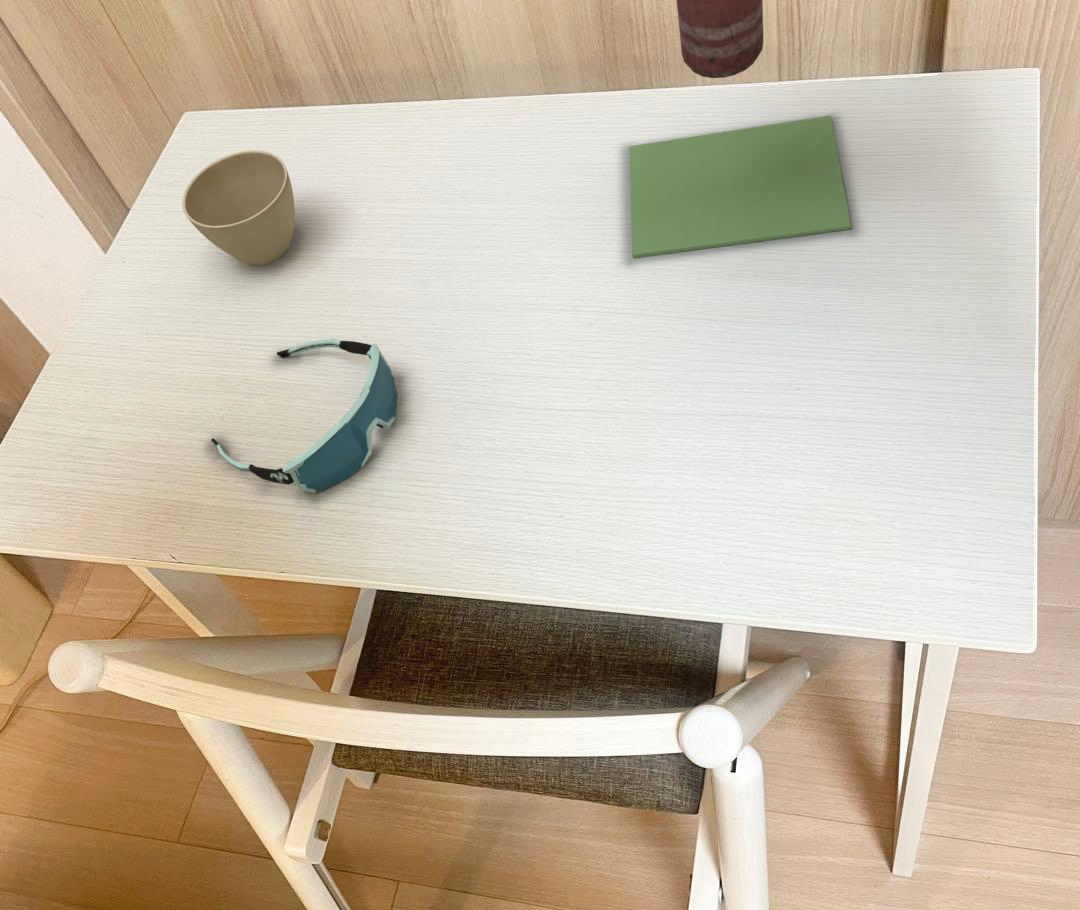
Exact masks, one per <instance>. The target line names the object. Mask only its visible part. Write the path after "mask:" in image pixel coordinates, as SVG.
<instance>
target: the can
mask: <svg viewBox="0 0 1080 910" xmlns="http://www.w3.org/2000/svg"><path fill="white" fill-rule="evenodd" d="M763 6H764V2H763V0H676V8H677V9H676V10H677V17H678V19H677V21H678V28H679V39H680V49H681V57H682V60H683V63H684V64H686V66H687V67H688V68H689V69H690V70H691V71H692V72H693V73H694V74H696V75H698V76H701V77H704V78H710V79H722V78H723V79H724V78H729V77H733V76H736V75H738V74H741V73H742V72H745V71H746V70H747V69H749V68H750V67H751V66H753V65H754V64H755V62H756V60H757V59H758V58H759V56H760V55H761V53H762V52H763V47H764V7H763Z"/></svg>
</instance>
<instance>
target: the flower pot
mask: <svg viewBox="0 0 1080 910" xmlns="http://www.w3.org/2000/svg"><path fill="white" fill-rule="evenodd" d="M181 204H182V210H183V211H182V212H183V213H184V215H185V217H186V218H187V219H188V220H189V222H190V223H191V224H192V226H194V228H195V229H196V230H197V231H198V232H199V233H200V234H201V235H202V236H203V237H205V238H206V239H207V240H208V241H209V242H210V243H211V244H213V245H215V247H217V248H218V249H220V250H221V251H223V252H224V253H226V254H228V255H229V256H232V258H235V259H237V260H239V261H241V262H244V263H247V264H250V265H251V266H252V265H254V266H263V265H264V266H265V265H267V264H271V263H274V262H275V261H277V260H279V259H280V258H281V257H283V256H284V255H285V254H286V253H287V251H288V250H289V249H290V248H291V245H292V242H293V236H294V229H295V217H296V216H295V215H296V214H295V213H296V212H295V211H296V210H295V197H294V190H293V187H292V181H291V177H290V175H289V171H288V169H287V166H286V164H285V163H284V161H283V160H282V159H281V158H280V157H279V156H277V155H276V154H274V153H271V152H268V151H264V150H255V149H254V150H243V151H237V152H234V153H231V154H228V155H225V156H223V157H220V158H219V159H217V160H215V161H213V162H211V163H209V164H208V165H206V166H205V167H204V168H202V169H201V170H200V171H199V172H198V173H197V174H196V175H195V176H194V177H193V178H192V179H191V181H190V182H189V183H188V184H187V187H186V188H185V190H184V193H183V197H182V201H181Z"/></svg>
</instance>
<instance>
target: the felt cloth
mask: <svg viewBox="0 0 1080 910" xmlns="http://www.w3.org/2000/svg"><path fill="white" fill-rule="evenodd" d="M629 172H630V173H629V175H630V177H629V178H630V179H629V180H630V211H631V247H632V248H631V249H632V258H633V259H635V258H636V259H637V258H645V257H651V256H658V255H666V254H674V253H681V252H688V251H697V250H704V249H712V248H719V247H727V246H734V245H740V244H748V243H757V242H764V241H771V240H779V239H786V238H794V237H802V236H803V237H804V236H809V235H817V234H824V233H833V232H839V231H847V230H852V223H851V216H850V211H849V206H848V200H847V196H846V190H845V185H844V179H843V173H842V167H841V162H840V156H839V151H838V145H837V140H836V135H835V130H834V124H833V118H832V115H825V116H819V117H812V118H807V119H806V118H805V119H798V120H795V121H794V120H793V121H787V122H779V123H774V124H767V125H761V126H760V125H759V126H753V127H747V128H740V129H734V130H728V131H720V132H715V133H708V134H702V135H701V134H700V135H695V136H688V137H683V138H681V137H680V138H674V139H668V140H662V141H654V142H650V143H649V142H648V143H643V144H637V145H630V146H629Z"/></svg>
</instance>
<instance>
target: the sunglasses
mask: <svg viewBox="0 0 1080 910" xmlns="http://www.w3.org/2000/svg"><path fill="white" fill-rule="evenodd" d="M378 347H379V346H377V344H376V343H375V342H374V343H372V344H369V343H364V342H359V341H354V340H341V339H337V338H329V339H328V338H327V339H321V340H320V339H319V340H314V341H313V340H312V341H309V342H305V343H301V344H298V345H295V346H293V347H291V348H288V349H285V350H280V351H277V352H276V355H277V356H278V357H280V358H281V359H284V358H288V357H292V356H295V355H299V354H301V353H304V352H308V351H311V350H318V349H324V348H334V349H339V350H342V351H345V352H348V353H351V354H355V355H356V354H357V355H362V356H367V357H368V358H369V360H370V366H369V371H368V375H367V377H366V380H365V382H364V385H363V387H362V390H361V392H360V394H359V395H358V397H357V398H356V400H355V401H354V402H353V404H352V406H351V407H350V408H349V410H348V412H346V414H345V415H344V416H343V417H342V418H341V419H339V421H338V422H337V423H336V424H335V425H334V426H333V427H332V428H331V429H330V430H328V432H326V433H325V434H324V435H323V436H321V438H320V439H318V440H317V441H316V442H315V443H314V444H313V445H311V446H310V447H309V448H307V449H306V450H305V451H303V452H302V453H300V454H299V455H297V456H296V457H294V458H292V459H291V460H289V462H288V463H287V464H286V465H285V467H284V468H282V467H280V468H277V469H274V468H267V467H259V466H256V465H254V464H252V463H251V464H248V463H245V464H243V463H240V462H238V461H236V460H234V459H232V458H231V457H230V456H228V454H227V453H226V451H225V449H224V448H223V446H222V445H221V444H220V443H219V442H218V441H217V440H216V439H215V438H214V437H213V438H211V439H210V441H211V442H212V443H213V444H214V445H215V446H216V448H217V451H218V454H220V455H221V457H222V458H223V459H224V460H225V461H226V462H227V463H228V464H229V465H230V466H232V467H233V468H235V469H237V470H238V471H240V472H243V473H251V474H254V475H255V476H256V477H258V478H259V479H261V480H264V481H267V482H271V483H276V484H282V485H288V486H289V485H292V486H293V487H294V488H298V489H299V490H300V491H302V492H308V493H313V494H315V493H316V492H320V491H322V490H325V489H328V488H330V487H331V486H335V485H336V484H338V483H340V482H343V481H344V480H346V479H349V478H350V477H351V476H353V475H354V474H355V473H357V472H358V471H359V470H361V469H363V468H364V466H365V465H366V463H367V461H368V460H369V458H370V456H371V454H372V452H373V439H372V438H373V437H372V432H373V431H374V429H375V427H378V428H380V429H384V427H387V428H390V426H391V425H392V424H393V423H394V421H395V420H396V419H397V406H398V405H397V404H398V391H397V387H396V382H395V376H394V373H393V370H392V369H391V367H390V365H389V363H388V362H387V360H386V358H385V357H384V355H383V353H382V352H381V350H380V349H379V348H378Z"/></svg>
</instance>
